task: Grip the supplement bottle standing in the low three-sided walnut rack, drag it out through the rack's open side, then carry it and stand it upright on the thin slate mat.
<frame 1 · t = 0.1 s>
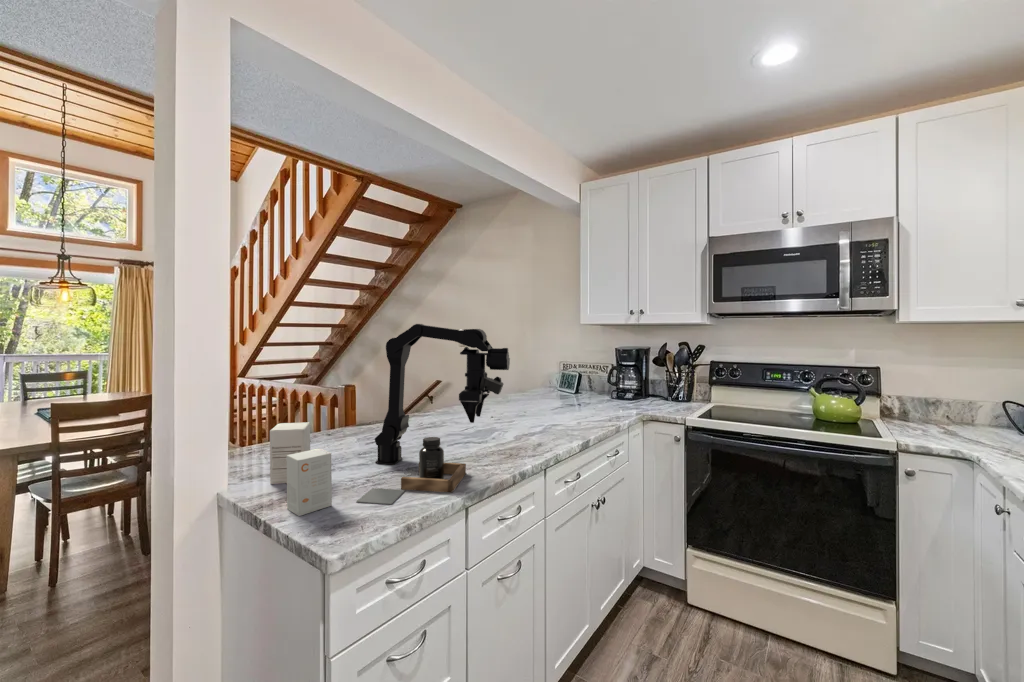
hand: (475, 419, 137), 15 cm above the countertop, fingers open, 9 cm apart
supplement box: (291, 478, 125), on the countertop
walnut rack: (435, 481, 124), on the countertop
small box: (309, 508, 105), on the countertop
slate mat: (381, 496, 112), on the countertop
supplement bottle: (431, 481, 124), on the countertop
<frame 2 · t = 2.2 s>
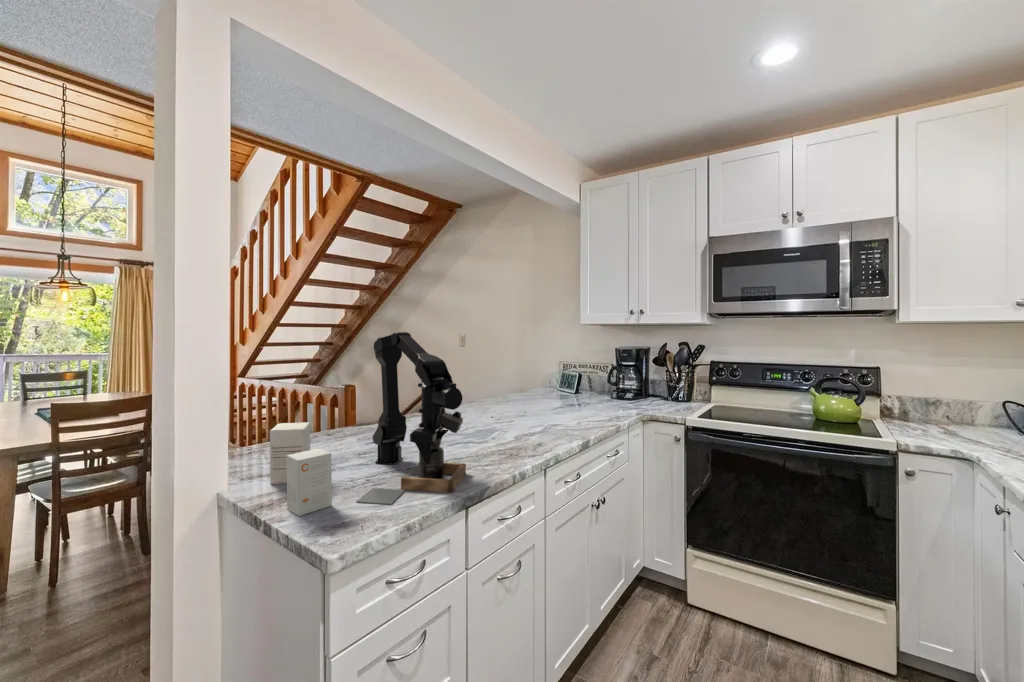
hand: (431, 459, 124), 6 cm above the countertop, fingers closed on supplement bottle, 7 cm apart
supplement bottle: (431, 481, 124), on the countertop, touching gripper
everything else where it was.
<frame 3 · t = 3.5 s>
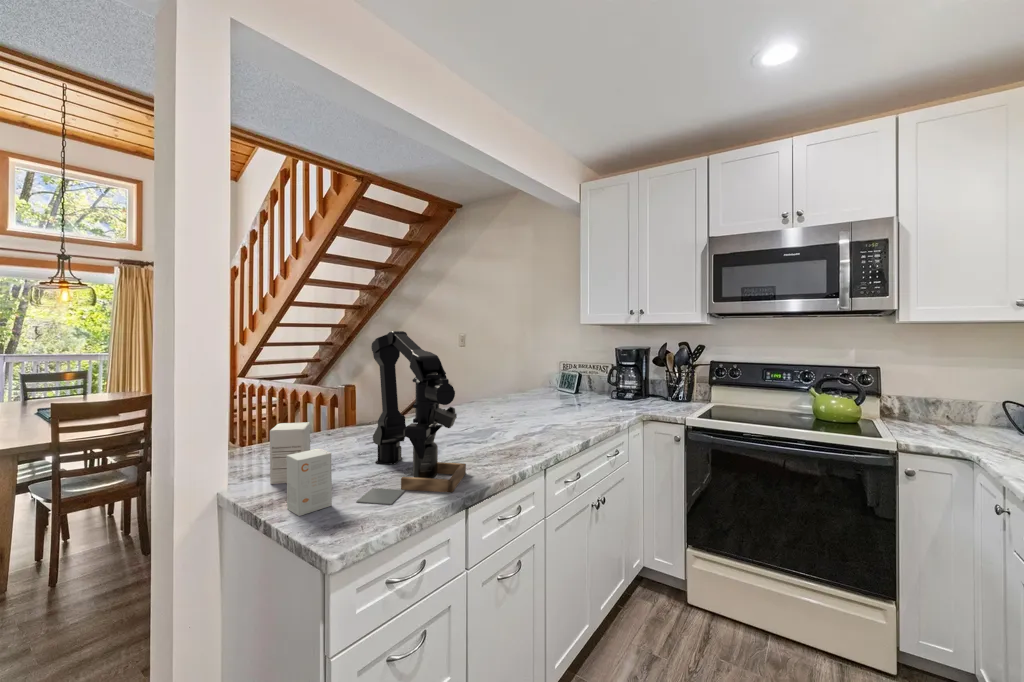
hand: (425, 454, 124), 7 cm above the countertop, fingers closed on supplement bottle, 7 cm apart
supplement bottle: (425, 476, 124), point 1 cm above the countertop, touching gripper
everything else where it was.
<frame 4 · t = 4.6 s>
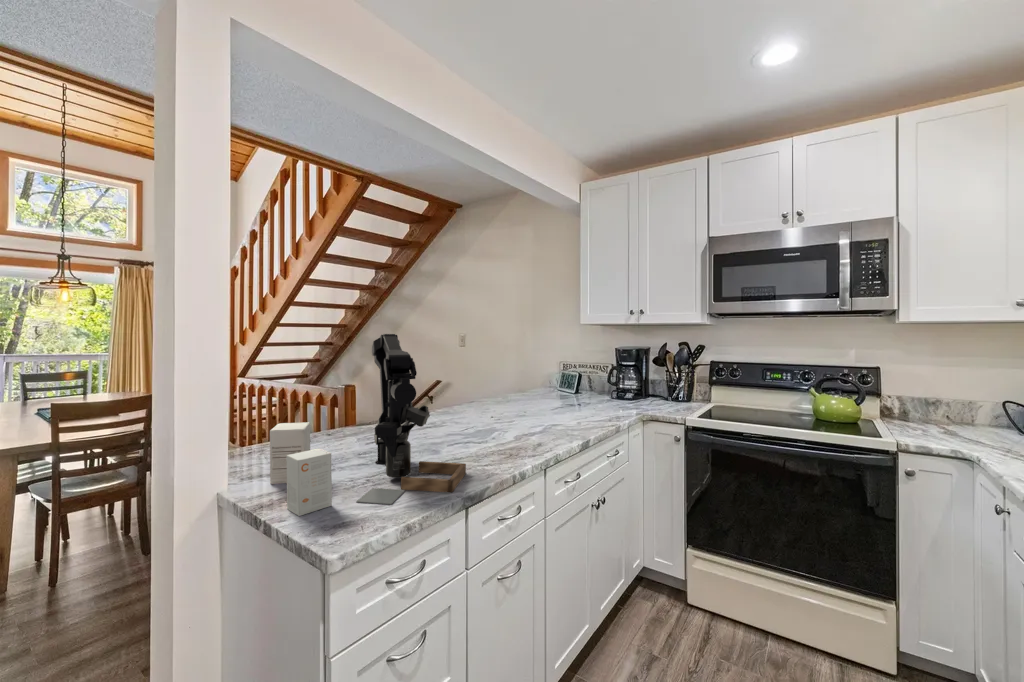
hand: (398, 453, 125), 7 cm above the countertop, fingers closed on supplement bottle, 7 cm apart
supplement bottle: (398, 475, 125), point 1 cm above the countertop, touching gripper
everything else where it was.
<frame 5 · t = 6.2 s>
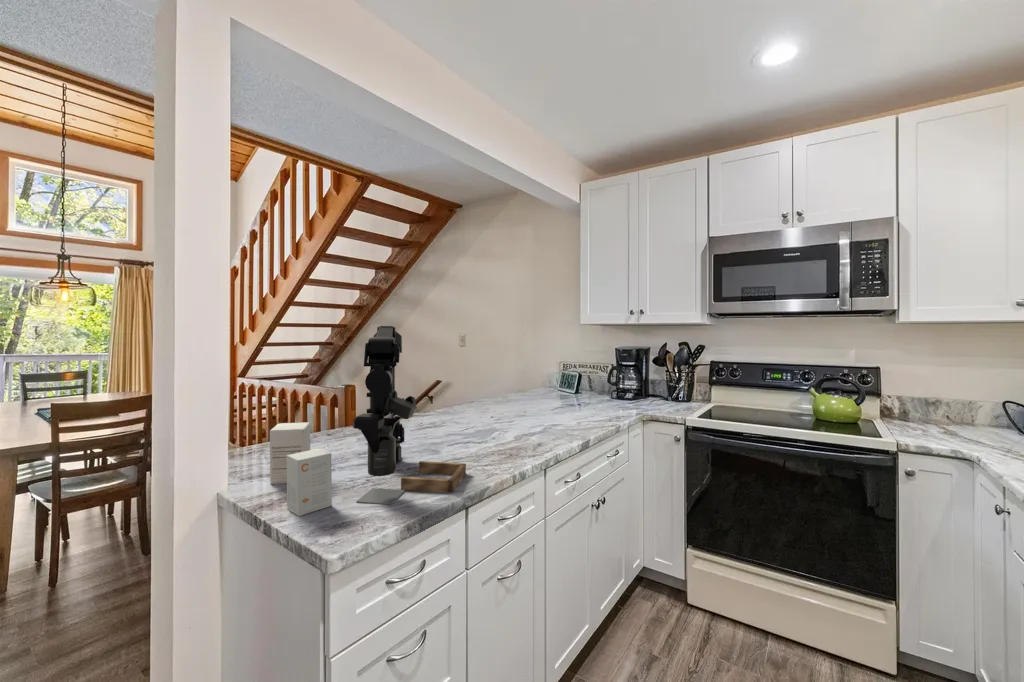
hand: (381, 449, 112), 12 cm above the countertop, fingers closed on supplement bottle, 7 cm apart
supplement bottle: (381, 473, 112), point 6 cm above the countertop, touching gripper
everything else where it was.
when the fingers open (7 cm above the countertop, at t = 7.5 s): supplement bottle drops 1 cm, resting on slate mat.
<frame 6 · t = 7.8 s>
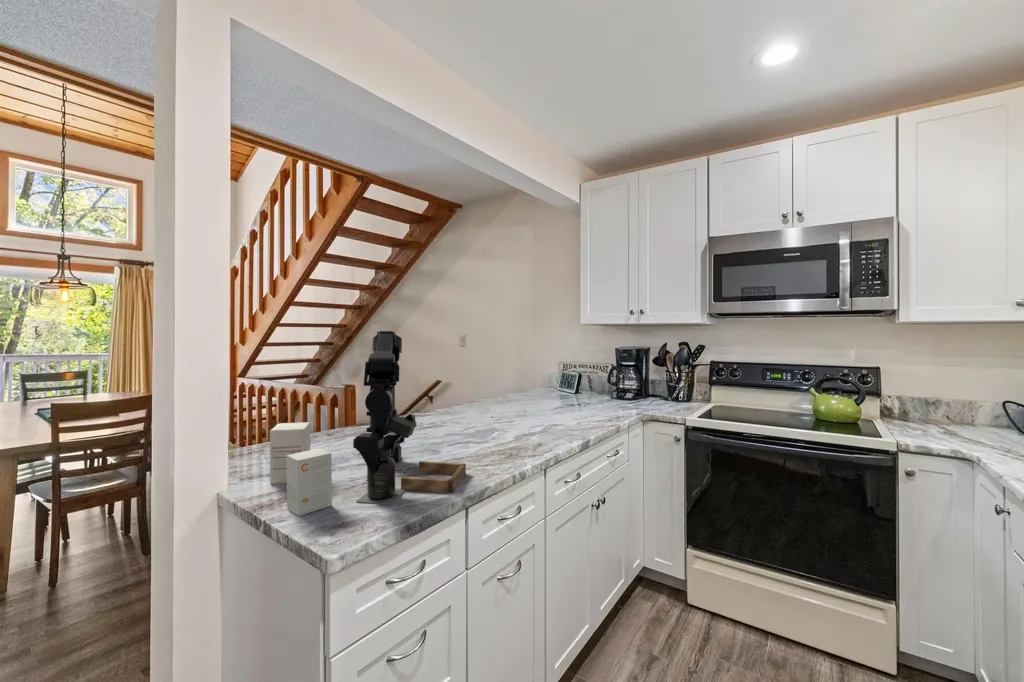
hand: (381, 467, 112), 7 cm above the countertop, fingers open, 9 cm apart
supplement bottle: (381, 496, 112), resting on slate mat
everything else where it was.
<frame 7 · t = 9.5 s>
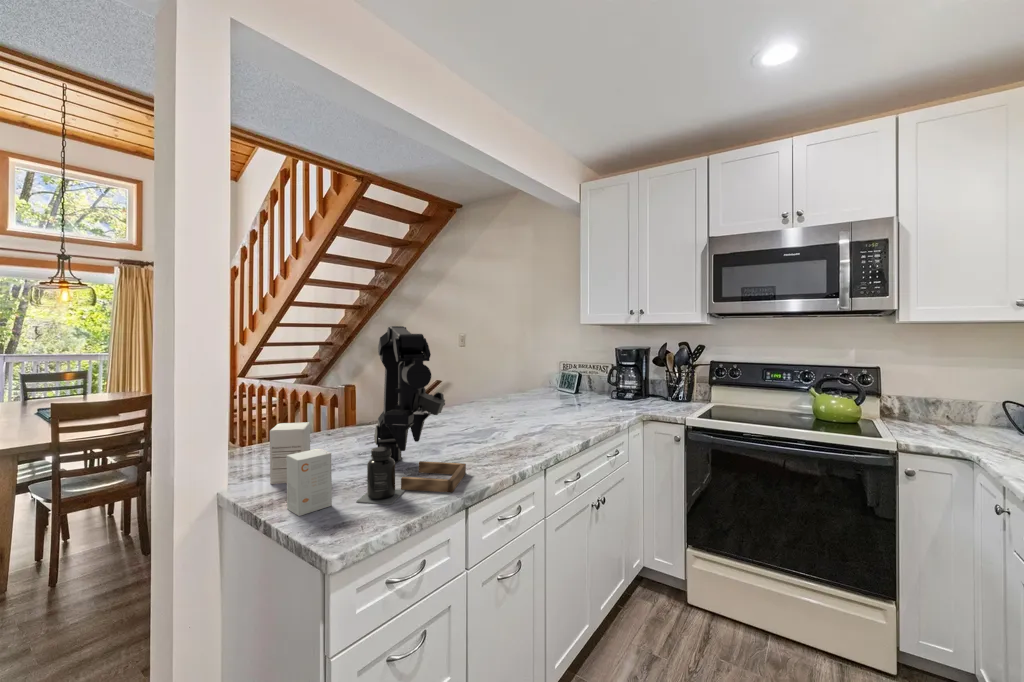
hand: (410, 446, 111), 13 cm above the countertop, fingers open, 9 cm apart
nothing on the countertop moved.
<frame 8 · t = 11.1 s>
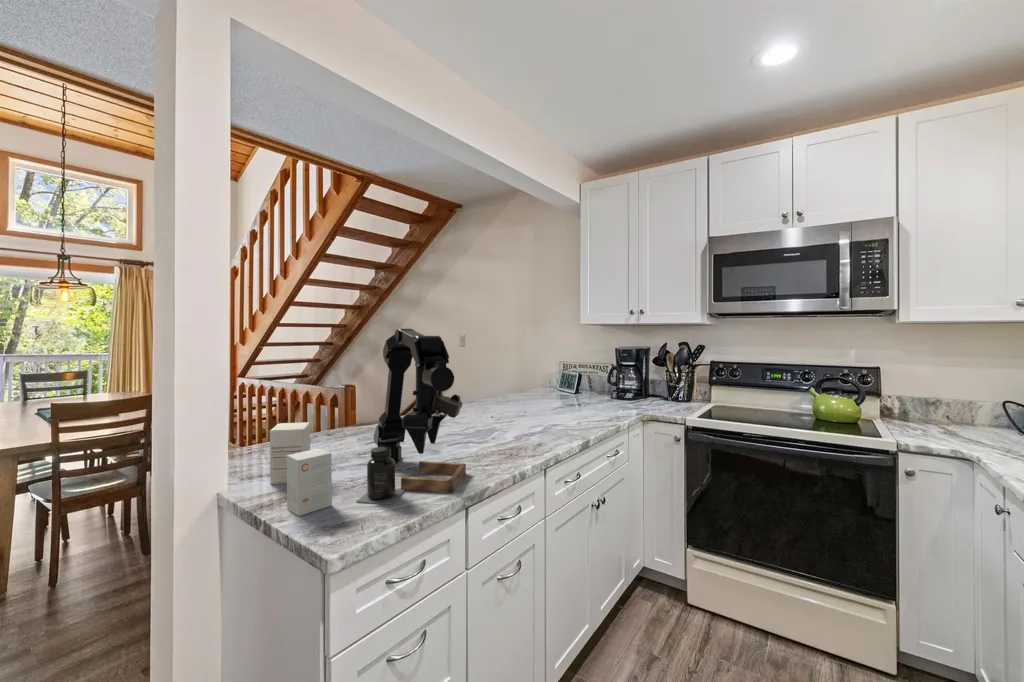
hand: (427, 448, 110), 13 cm above the countertop, fingers open, 9 cm apart
nothing on the countertop moved.
at the end: supplement bottle inside the target area on the slate mat (0.2 cm from its centre), point 0.1 cm above the slate mat's base; supplement bottle tilted 0°; the gripper is holding nothing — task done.
